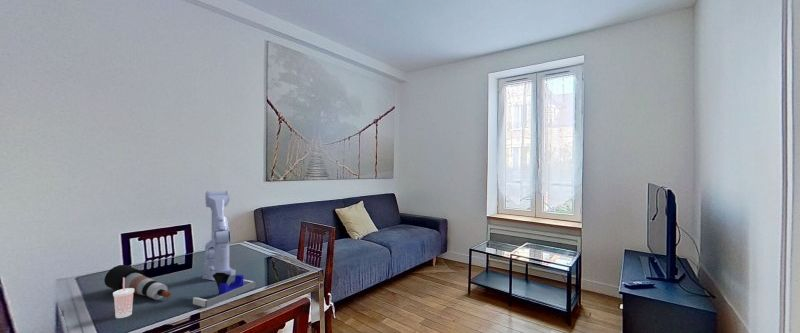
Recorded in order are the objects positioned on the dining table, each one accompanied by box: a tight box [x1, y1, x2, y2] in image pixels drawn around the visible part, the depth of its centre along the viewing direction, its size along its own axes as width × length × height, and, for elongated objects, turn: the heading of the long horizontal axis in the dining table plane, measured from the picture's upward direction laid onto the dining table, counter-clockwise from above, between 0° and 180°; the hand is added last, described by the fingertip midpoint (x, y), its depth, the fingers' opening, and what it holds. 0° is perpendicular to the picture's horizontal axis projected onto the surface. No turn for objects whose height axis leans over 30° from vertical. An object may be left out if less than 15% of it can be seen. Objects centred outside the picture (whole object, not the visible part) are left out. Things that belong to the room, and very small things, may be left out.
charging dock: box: [192, 279, 257, 309], centre depth 135 cm, size 8×23×2 cm, turn 156°
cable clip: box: [218, 274, 245, 296], centre depth 137 cm, size 12×4×6 cm, turn 172°
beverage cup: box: [112, 277, 134, 319], centre depth 117 cm, size 6×6×14 cm
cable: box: [104, 264, 172, 300], centre depth 135 cm, size 10×34×10 cm, turn 69°
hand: (221, 289), depth 136 cm, fingers closed
